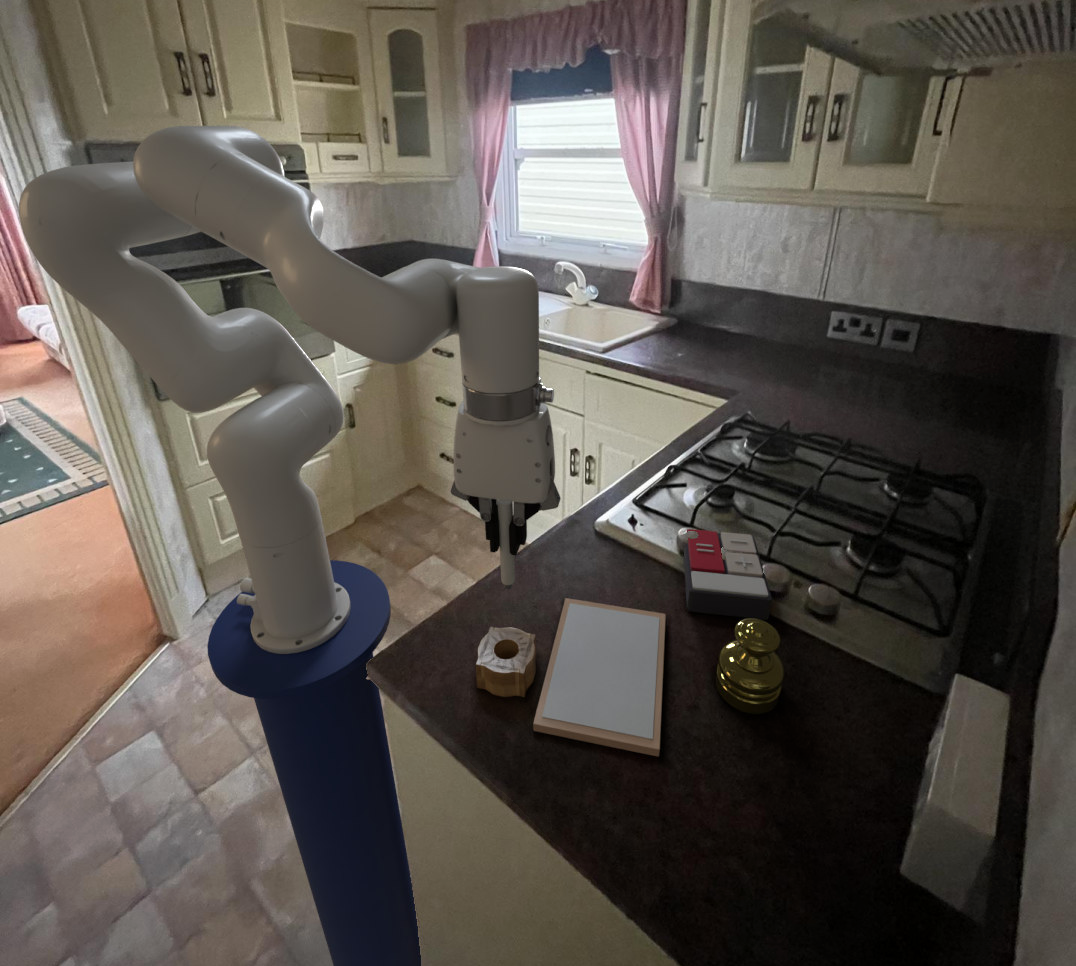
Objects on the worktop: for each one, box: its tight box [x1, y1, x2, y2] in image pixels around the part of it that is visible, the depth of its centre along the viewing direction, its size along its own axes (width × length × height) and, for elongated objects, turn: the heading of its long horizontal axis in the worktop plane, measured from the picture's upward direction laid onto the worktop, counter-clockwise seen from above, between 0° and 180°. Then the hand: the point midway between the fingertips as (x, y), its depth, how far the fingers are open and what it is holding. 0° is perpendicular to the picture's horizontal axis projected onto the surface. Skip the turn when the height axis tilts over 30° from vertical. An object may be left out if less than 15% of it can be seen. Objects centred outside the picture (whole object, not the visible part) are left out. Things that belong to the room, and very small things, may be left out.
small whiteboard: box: [532, 597, 666, 757], centre depth 75 cm, size 14×20×1 cm
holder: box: [475, 626, 537, 698], centre depth 74 cm, size 7×7×4 cm
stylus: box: [498, 500, 516, 590], centre depth 66 cm, size 2×2×12 cm
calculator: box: [682, 528, 773, 621], centre depth 89 cm, size 11×4×15 cm
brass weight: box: [715, 618, 786, 715], centre depth 70 cm, size 7×7×10 cm
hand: (506, 545), depth 66 cm, fingers closed on stylus, 1 cm apart
